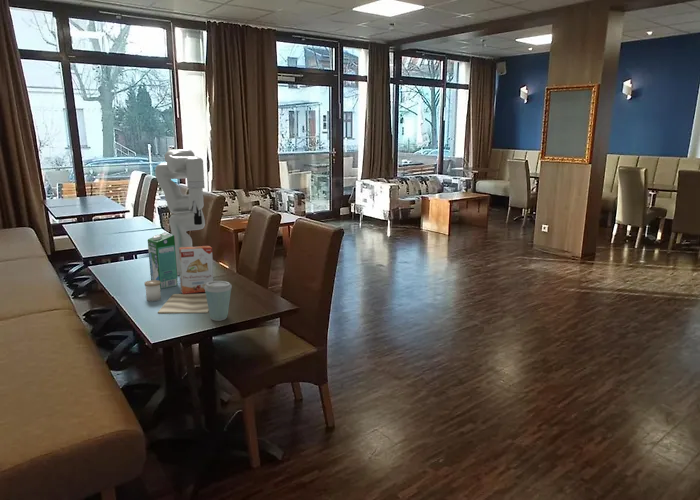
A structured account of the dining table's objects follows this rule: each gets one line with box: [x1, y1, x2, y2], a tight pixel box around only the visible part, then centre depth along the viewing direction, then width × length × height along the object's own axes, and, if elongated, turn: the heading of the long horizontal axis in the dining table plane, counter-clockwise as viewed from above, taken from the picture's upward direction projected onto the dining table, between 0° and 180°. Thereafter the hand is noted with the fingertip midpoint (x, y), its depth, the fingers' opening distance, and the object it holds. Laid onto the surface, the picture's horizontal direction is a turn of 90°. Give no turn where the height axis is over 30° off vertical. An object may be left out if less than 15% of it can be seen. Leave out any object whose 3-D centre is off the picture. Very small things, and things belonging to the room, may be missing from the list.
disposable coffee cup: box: [204, 280, 233, 322], centre depth 195 cm, size 11×11×15 cm
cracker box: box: [179, 245, 214, 294], centre depth 226 cm, size 14×6×21 cm, turn 118°
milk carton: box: [147, 232, 179, 290], centre depth 234 cm, size 9×9×25 cm
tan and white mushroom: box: [144, 279, 162, 302], centre depth 217 cm, size 7×7×8 cm
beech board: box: [157, 293, 209, 314], centre depth 213 cm, size 23×20×1 cm
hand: (198, 224), depth 229 cm, fingers closed
